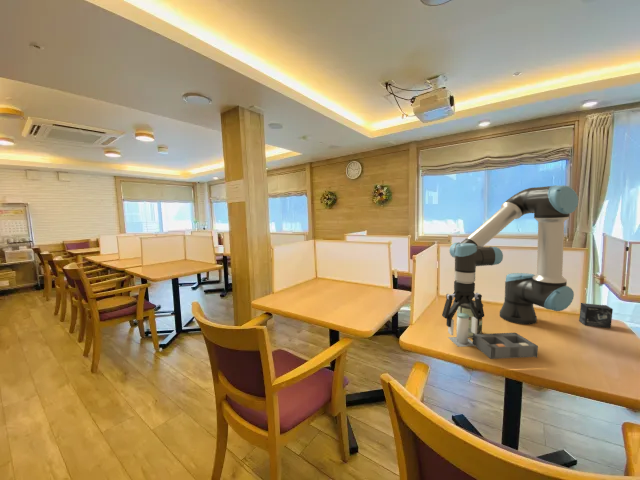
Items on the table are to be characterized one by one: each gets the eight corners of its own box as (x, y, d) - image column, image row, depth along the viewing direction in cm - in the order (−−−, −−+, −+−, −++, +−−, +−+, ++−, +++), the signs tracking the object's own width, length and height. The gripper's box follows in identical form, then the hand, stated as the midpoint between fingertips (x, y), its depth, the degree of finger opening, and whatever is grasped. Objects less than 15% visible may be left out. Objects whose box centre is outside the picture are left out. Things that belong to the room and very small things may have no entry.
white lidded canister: (464, 338, 115) (465, 312, 114) (470, 343, 111) (471, 316, 110) (454, 339, 115) (455, 313, 114) (459, 344, 111) (460, 317, 110)
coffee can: (476, 329, 125) (478, 299, 124) (485, 339, 115) (487, 307, 114) (453, 327, 127) (454, 298, 126) (459, 337, 117) (460, 306, 116)
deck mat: (465, 337, 117) (465, 336, 117) (477, 346, 109) (477, 345, 109) (447, 338, 117) (447, 337, 117) (457, 347, 109) (458, 346, 109)
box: (584, 325, 126) (586, 306, 125) (578, 321, 131) (580, 302, 130) (611, 328, 123) (613, 308, 122) (604, 324, 128) (605, 304, 127)
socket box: (514, 343, 112) (515, 331, 111) (537, 357, 101) (538, 345, 100) (472, 345, 111) (473, 333, 110) (490, 359, 100) (491, 347, 99)
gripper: (484, 277, 114) (482, 328, 117) (433, 279, 113) (432, 330, 116) (496, 282, 107) (494, 336, 109) (442, 284, 106) (440, 338, 109)
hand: (462, 333), depth 113 cm, fingers open, 9 cm apart
